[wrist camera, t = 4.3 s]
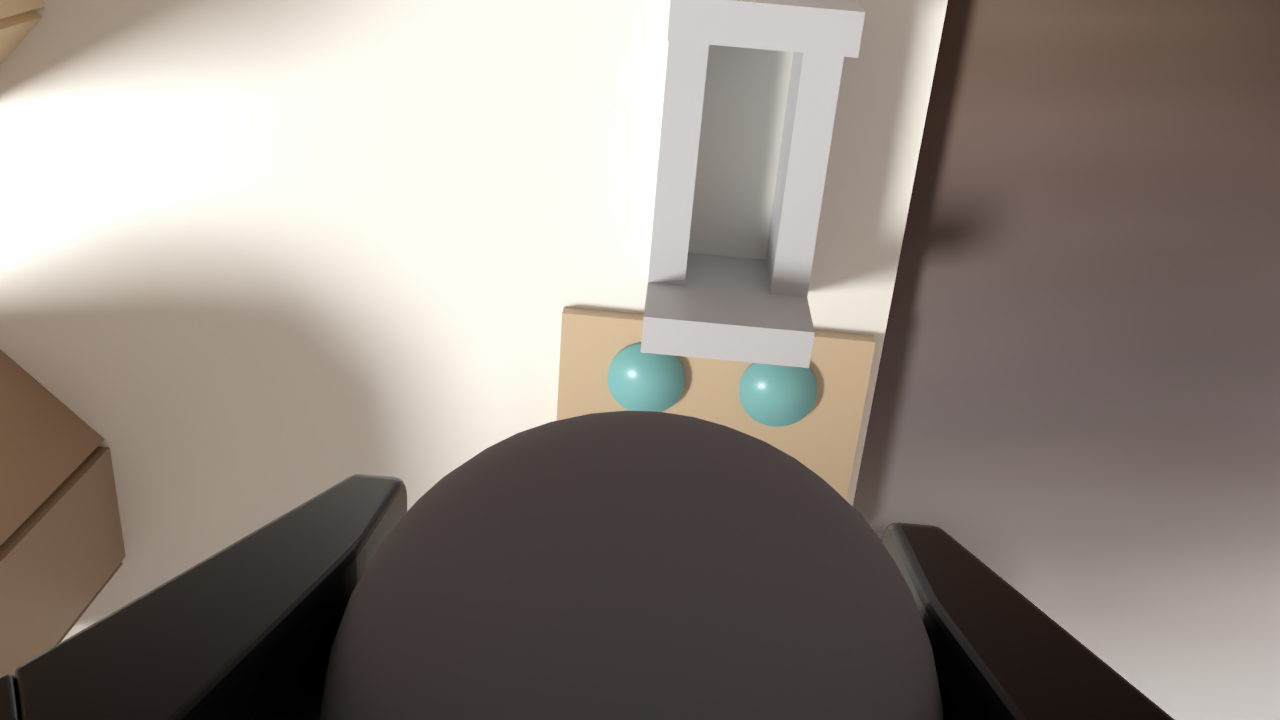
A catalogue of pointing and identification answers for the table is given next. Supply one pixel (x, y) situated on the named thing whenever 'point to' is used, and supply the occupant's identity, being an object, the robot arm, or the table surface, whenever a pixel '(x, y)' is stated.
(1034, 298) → the table surface
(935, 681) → the charcoal ball
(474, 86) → the board
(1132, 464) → the table surface
